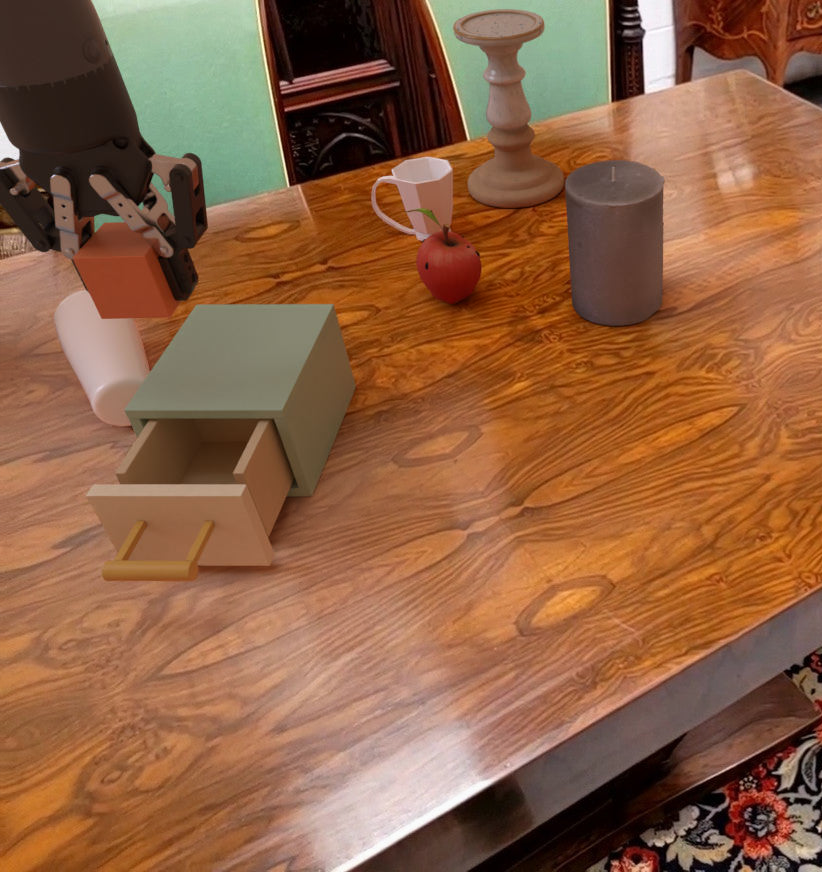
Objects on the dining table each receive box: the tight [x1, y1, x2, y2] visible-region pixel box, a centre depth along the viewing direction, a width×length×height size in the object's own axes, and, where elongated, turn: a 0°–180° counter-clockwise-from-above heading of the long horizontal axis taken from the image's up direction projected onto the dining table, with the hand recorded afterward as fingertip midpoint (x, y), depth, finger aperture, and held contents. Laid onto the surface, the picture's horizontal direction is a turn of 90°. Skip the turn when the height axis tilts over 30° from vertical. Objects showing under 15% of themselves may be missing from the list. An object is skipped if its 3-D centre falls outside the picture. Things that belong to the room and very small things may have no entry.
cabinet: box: [124, 303, 357, 497], centre depth 80 cm, size 15×12×9 cm
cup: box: [370, 156, 454, 242], centre depth 108 cm, size 7×10×8 cm
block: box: [73, 221, 182, 319], centre depth 67 cm, size 5×5×5 cm
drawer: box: [85, 419, 295, 582], centre depth 71 cm, size 19×11×7 cm, turn 179°
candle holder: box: [452, 8, 565, 209], centre depth 113 cm, size 12×12×20 cm
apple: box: [402, 208, 482, 305], centre depth 97 cm, size 8×7×10 cm
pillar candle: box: [564, 159, 666, 327], centre depth 94 cm, size 10×10×15 cm
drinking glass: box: [53, 289, 151, 427], centre depth 87 cm, size 7×7×15 cm
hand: (147, 295), depth 68 cm, fingers closed on block, 5 cm apart
